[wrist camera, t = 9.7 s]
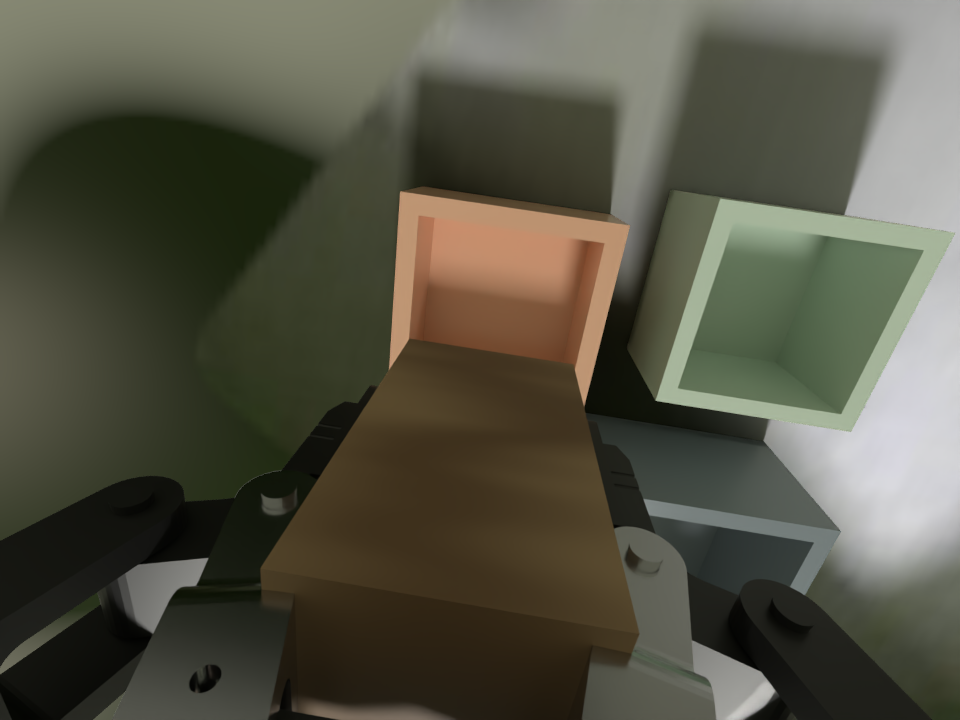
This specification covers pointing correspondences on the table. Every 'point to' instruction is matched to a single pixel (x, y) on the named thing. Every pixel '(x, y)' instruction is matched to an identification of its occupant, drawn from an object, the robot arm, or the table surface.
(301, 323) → the table surface
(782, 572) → the slate bin
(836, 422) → the pale green open box
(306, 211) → the table surface
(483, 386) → the walnut block
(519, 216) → the peach square tray
